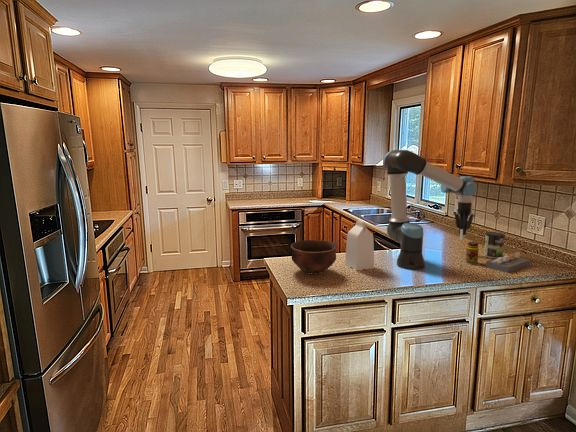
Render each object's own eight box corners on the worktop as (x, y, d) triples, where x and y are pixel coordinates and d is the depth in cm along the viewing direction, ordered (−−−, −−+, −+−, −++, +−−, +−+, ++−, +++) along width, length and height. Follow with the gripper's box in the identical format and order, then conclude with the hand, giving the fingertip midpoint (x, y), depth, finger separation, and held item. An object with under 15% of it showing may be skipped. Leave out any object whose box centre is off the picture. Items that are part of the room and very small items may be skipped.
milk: (345, 264, 214) (345, 220, 209) (362, 262, 218) (363, 218, 213) (356, 270, 203) (357, 224, 198) (374, 268, 207) (375, 222, 202)
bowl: (287, 278, 192) (287, 250, 189) (293, 264, 216) (293, 238, 213) (336, 280, 188) (336, 251, 186) (336, 265, 213) (337, 239, 210)
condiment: (467, 264, 211) (469, 244, 209) (461, 260, 220) (463, 240, 218) (480, 265, 211) (482, 244, 209) (474, 260, 219) (476, 240, 217)
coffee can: (507, 257, 224) (509, 234, 221) (493, 259, 221) (495, 236, 218) (493, 253, 233) (495, 231, 231) (479, 254, 231) (481, 232, 228)
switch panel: (507, 272, 197) (508, 267, 197) (485, 266, 207) (485, 261, 207) (530, 264, 210) (530, 259, 209) (508, 259, 220) (508, 254, 219)
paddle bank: (499, 264, 202) (500, 258, 201) (496, 263, 203) (497, 258, 202) (519, 257, 213) (520, 252, 212) (517, 257, 214) (517, 252, 213)
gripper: (478, 202, 223) (475, 240, 227) (458, 200, 234) (456, 236, 238) (471, 203, 219) (468, 242, 223) (451, 201, 230) (449, 238, 234)
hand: (462, 239), depth 231 cm, fingers closed
